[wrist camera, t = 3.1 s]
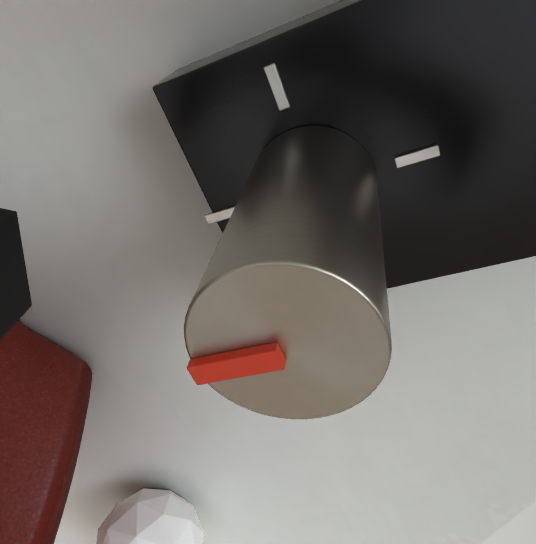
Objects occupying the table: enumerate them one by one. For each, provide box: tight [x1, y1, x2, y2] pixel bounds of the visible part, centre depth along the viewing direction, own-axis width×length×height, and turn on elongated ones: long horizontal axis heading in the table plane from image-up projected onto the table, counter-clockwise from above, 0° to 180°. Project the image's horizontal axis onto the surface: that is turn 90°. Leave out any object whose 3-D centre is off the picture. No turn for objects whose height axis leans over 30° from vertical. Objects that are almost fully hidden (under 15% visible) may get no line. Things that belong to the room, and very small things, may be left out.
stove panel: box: [153, 0, 536, 288], centre depth 18 cm, size 12×10×3 cm
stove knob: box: [184, 126, 392, 419], centre depth 14 cm, size 4×4×9 cm
